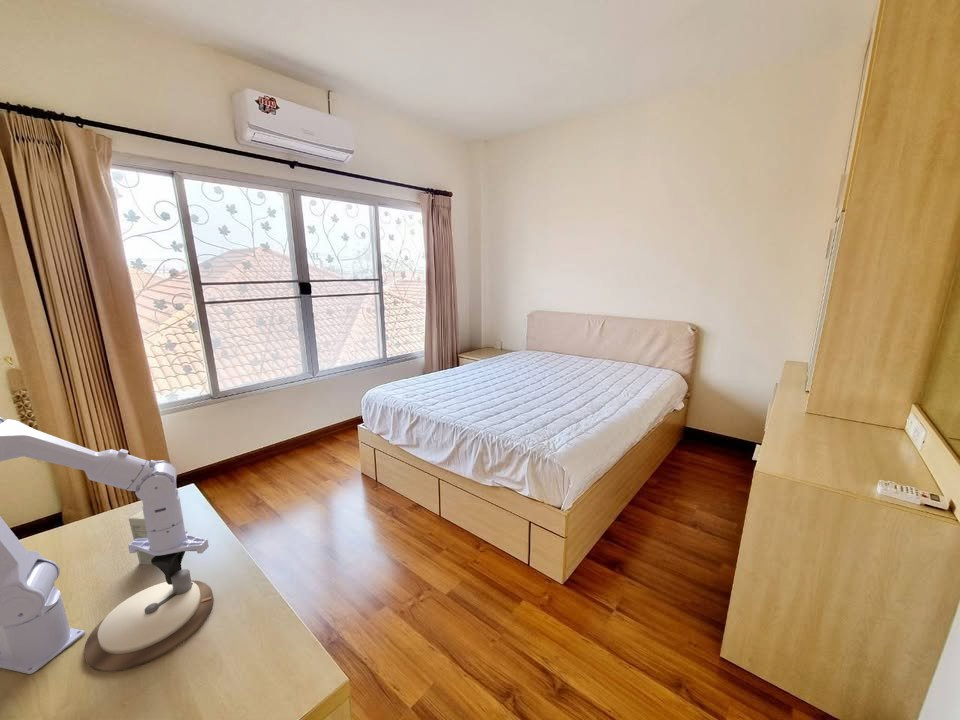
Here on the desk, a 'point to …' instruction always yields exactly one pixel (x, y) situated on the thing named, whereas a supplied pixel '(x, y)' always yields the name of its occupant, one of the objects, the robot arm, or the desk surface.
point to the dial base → (127, 661)
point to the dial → (150, 615)
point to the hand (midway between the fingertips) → (175, 580)
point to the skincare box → (140, 535)
